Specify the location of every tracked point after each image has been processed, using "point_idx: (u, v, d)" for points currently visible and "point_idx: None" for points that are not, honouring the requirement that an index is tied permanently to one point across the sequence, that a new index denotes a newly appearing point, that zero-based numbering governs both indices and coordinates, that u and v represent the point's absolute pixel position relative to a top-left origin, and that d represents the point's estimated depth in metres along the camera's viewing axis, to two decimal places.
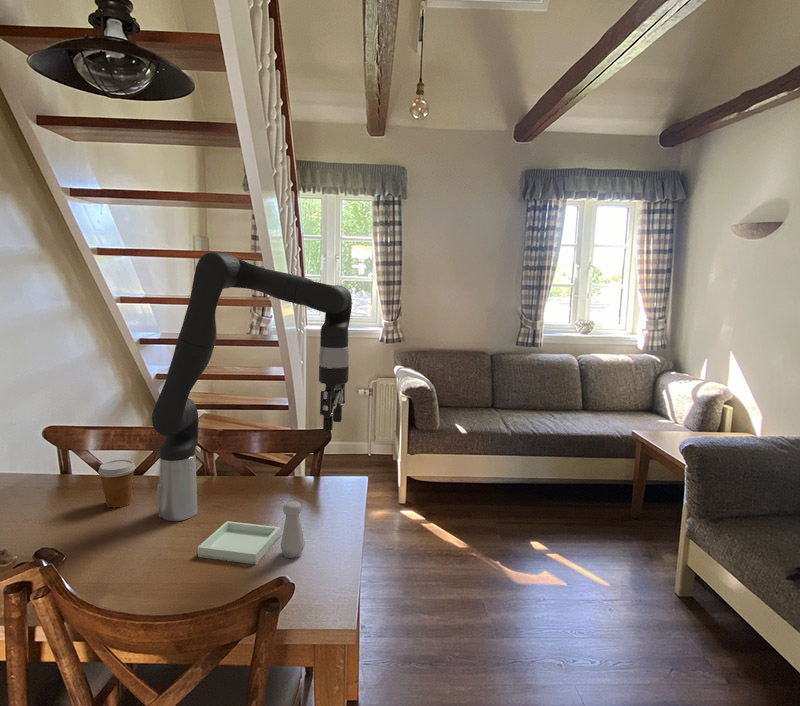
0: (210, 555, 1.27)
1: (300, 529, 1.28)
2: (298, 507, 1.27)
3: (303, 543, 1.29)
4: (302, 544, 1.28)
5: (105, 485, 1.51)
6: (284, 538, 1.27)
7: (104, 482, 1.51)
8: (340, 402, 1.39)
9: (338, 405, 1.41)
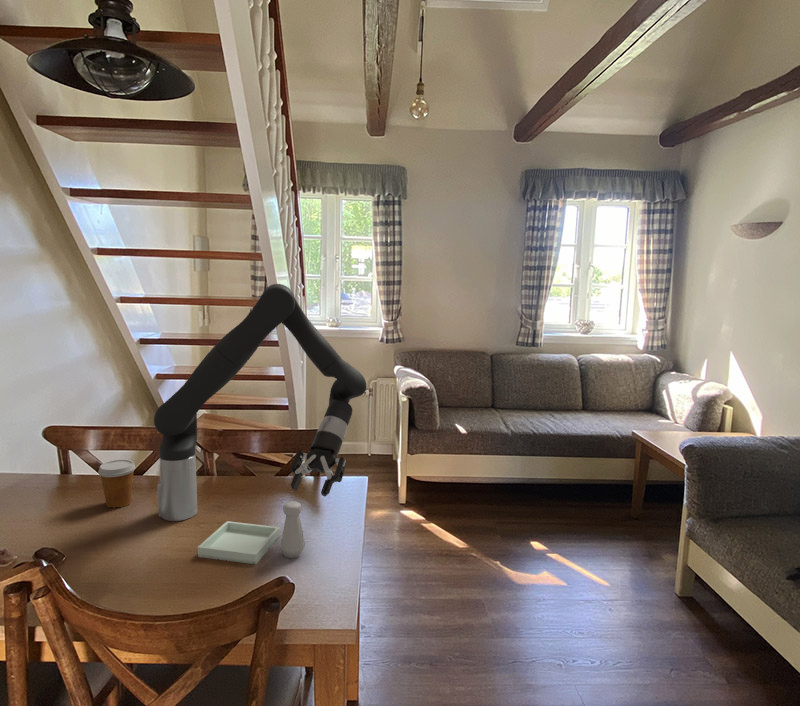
0: (210, 555, 1.27)
1: (300, 529, 1.28)
2: (299, 508, 1.27)
3: (303, 543, 1.29)
4: (302, 545, 1.28)
5: (105, 485, 1.51)
6: (284, 538, 1.27)
7: (104, 482, 1.51)
8: (307, 472, 1.40)
9: (301, 474, 1.39)
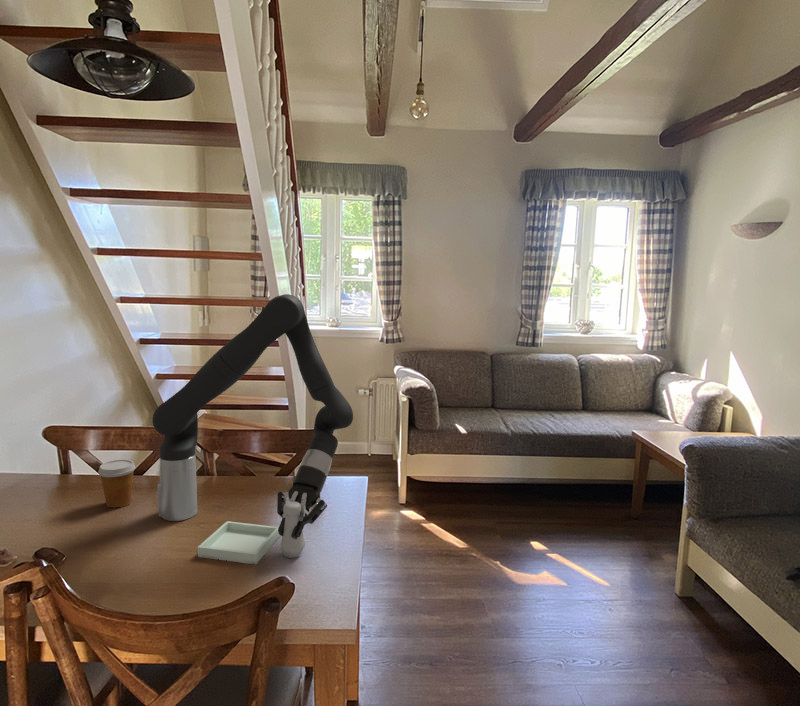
0: (210, 555, 1.27)
1: None
2: (298, 508, 1.27)
3: (303, 543, 1.29)
4: (302, 544, 1.28)
5: (105, 485, 1.51)
6: (284, 538, 1.27)
7: (104, 482, 1.51)
8: None
9: None
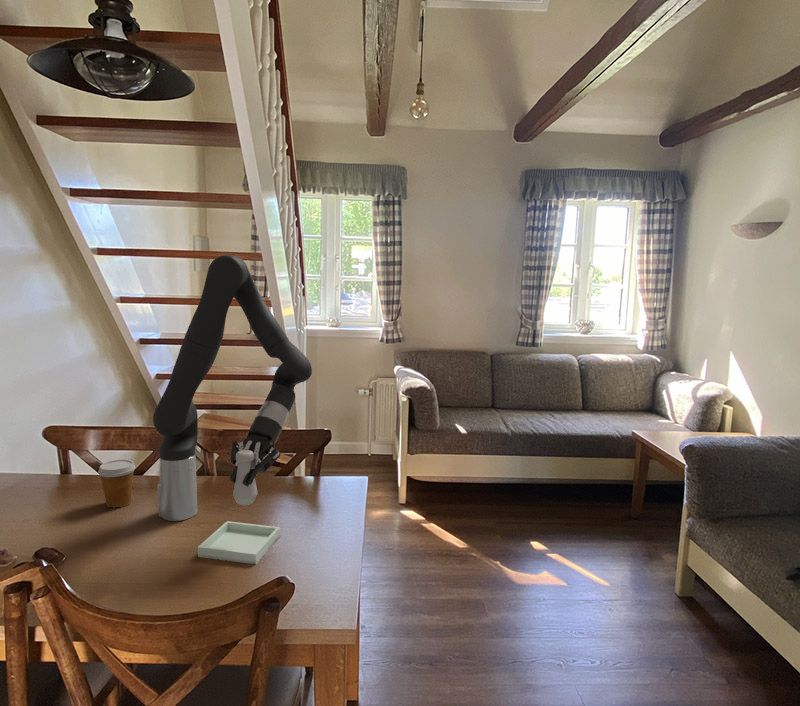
0: (210, 555, 1.27)
1: None
2: (251, 455, 1.28)
3: (255, 491, 1.30)
4: (254, 492, 1.29)
5: (105, 485, 1.51)
6: (236, 485, 1.28)
7: (104, 482, 1.51)
8: None
9: None
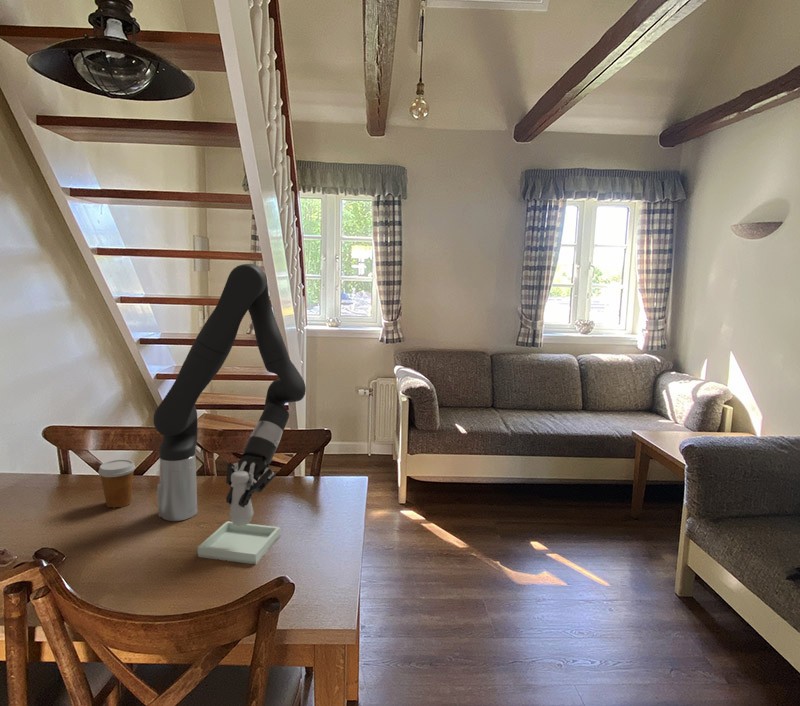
0: (210, 555, 1.27)
1: None
2: (245, 476, 1.29)
3: (251, 511, 1.31)
4: (250, 513, 1.30)
5: (105, 485, 1.51)
6: (232, 506, 1.30)
7: (104, 482, 1.51)
8: None
9: None
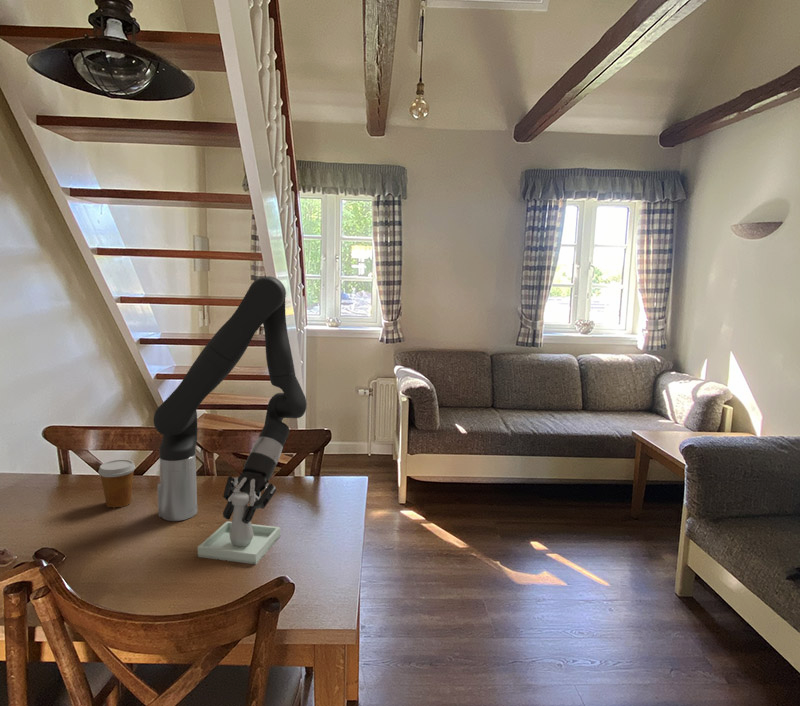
0: (210, 555, 1.27)
1: None
2: (246, 498, 1.30)
3: (251, 533, 1.32)
4: (250, 534, 1.31)
5: (105, 485, 1.51)
6: (232, 528, 1.30)
7: (104, 482, 1.51)
8: None
9: None
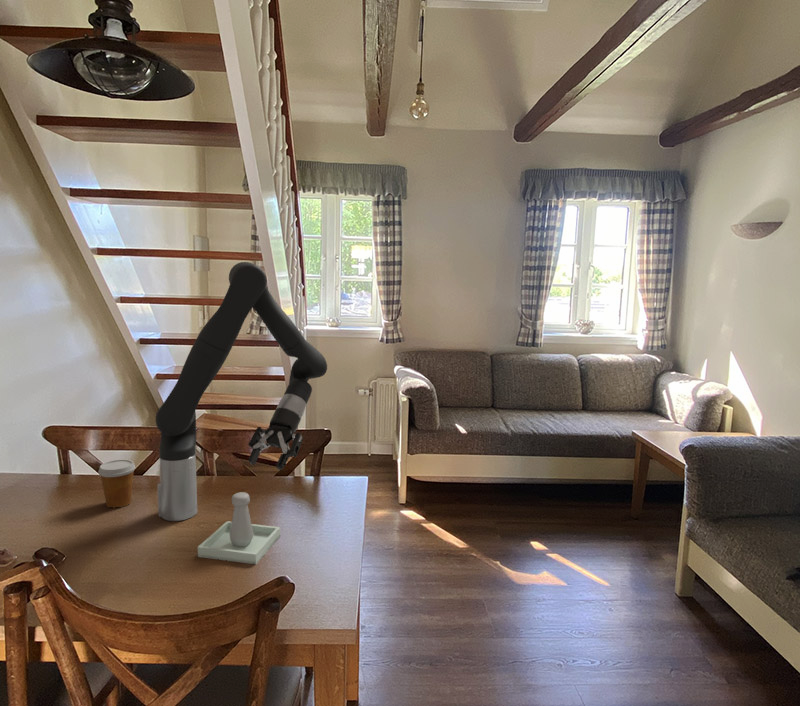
0: (210, 555, 1.27)
1: (248, 519, 1.31)
2: (246, 498, 1.30)
3: (251, 533, 1.32)
4: (250, 534, 1.31)
5: (105, 485, 1.51)
6: (232, 528, 1.30)
7: (104, 482, 1.51)
8: (265, 447, 1.45)
9: (259, 449, 1.44)
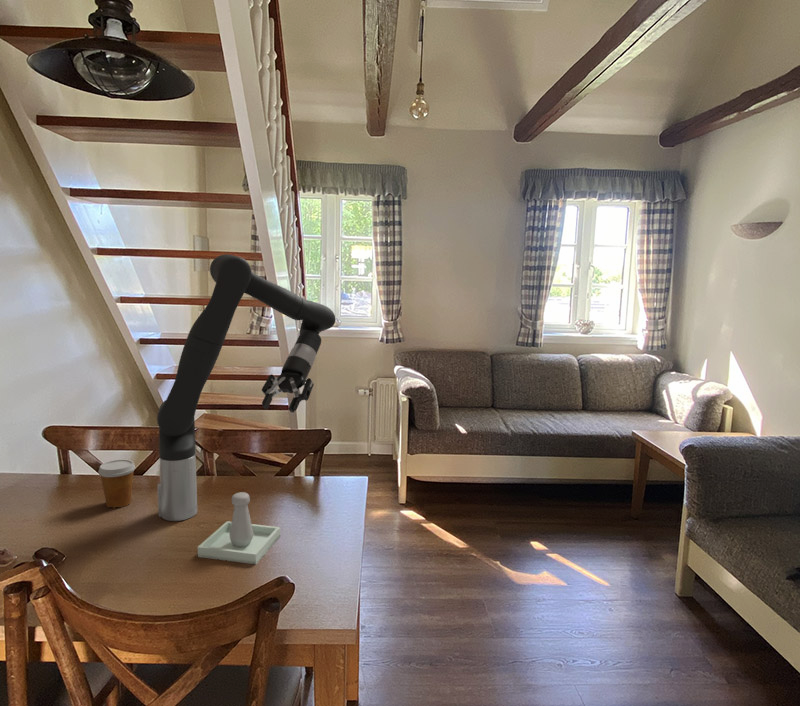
0: (210, 555, 1.27)
1: (248, 519, 1.31)
2: (246, 498, 1.30)
3: (251, 533, 1.32)
4: (250, 534, 1.31)
5: (105, 485, 1.51)
6: (232, 528, 1.30)
7: (104, 482, 1.51)
8: (277, 393, 1.52)
9: (271, 394, 1.51)
